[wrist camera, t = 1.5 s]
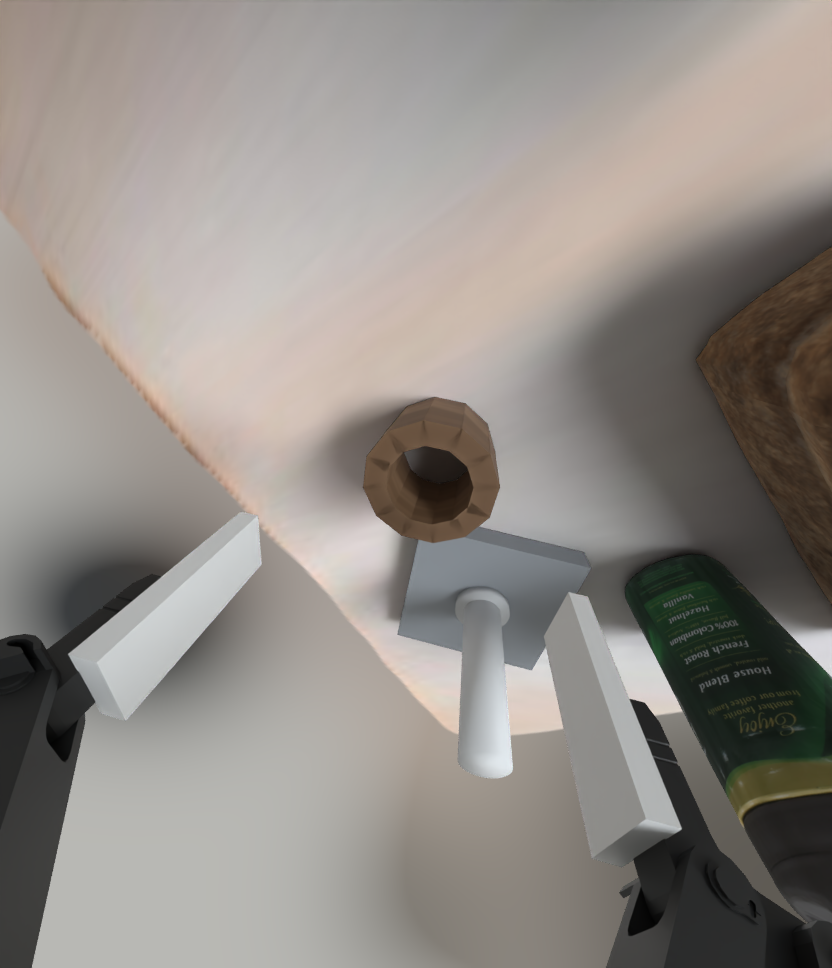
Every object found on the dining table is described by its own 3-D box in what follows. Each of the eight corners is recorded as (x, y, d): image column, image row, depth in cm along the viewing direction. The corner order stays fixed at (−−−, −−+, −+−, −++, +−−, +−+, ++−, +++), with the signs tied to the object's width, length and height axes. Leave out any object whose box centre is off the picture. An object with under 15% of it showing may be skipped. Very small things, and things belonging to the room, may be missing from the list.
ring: (394, 388, 24) (371, 408, 19) (507, 412, 23) (516, 440, 18) (381, 485, 28) (359, 525, 23) (476, 508, 27) (477, 554, 22)
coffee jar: (604, 578, 29) (774, 926, 12) (704, 535, 25) (1116, 934, 9) (657, 642, 31) (859, 1005, 15) (754, 611, 28) (1154, 1036, 11)
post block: (424, 514, 29) (385, 663, 16) (584, 552, 28) (669, 740, 15) (401, 618, 35) (361, 780, 23) (528, 652, 34) (557, 838, 22)
